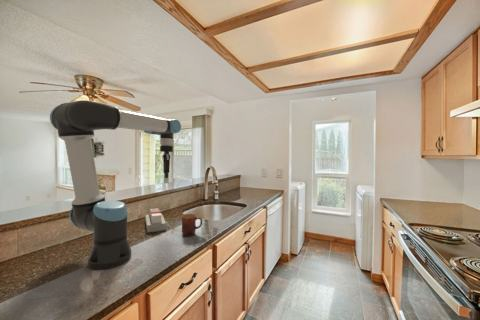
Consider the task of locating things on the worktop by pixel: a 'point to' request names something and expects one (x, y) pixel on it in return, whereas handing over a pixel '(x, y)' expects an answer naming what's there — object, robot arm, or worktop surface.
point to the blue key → (153, 209)
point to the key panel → (156, 226)
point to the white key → (156, 218)
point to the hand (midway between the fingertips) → (166, 183)
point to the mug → (189, 224)
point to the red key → (155, 211)
